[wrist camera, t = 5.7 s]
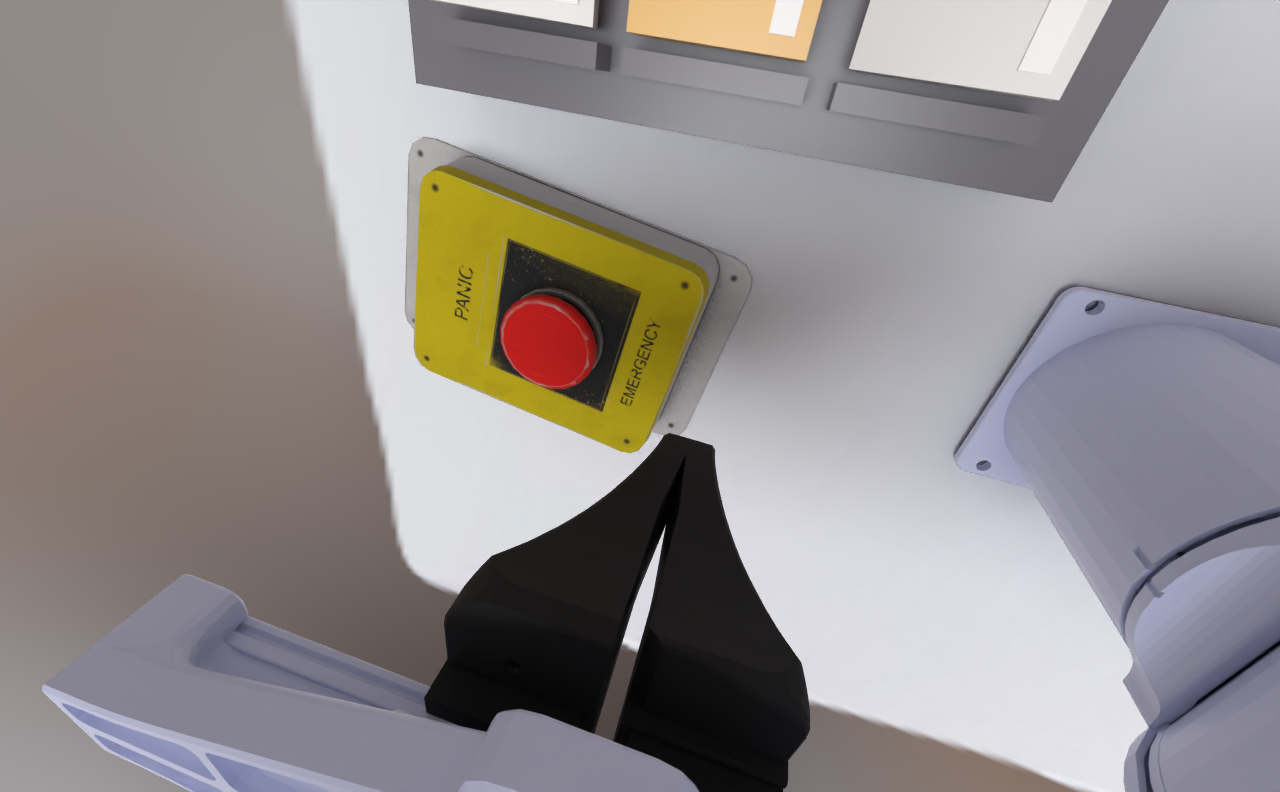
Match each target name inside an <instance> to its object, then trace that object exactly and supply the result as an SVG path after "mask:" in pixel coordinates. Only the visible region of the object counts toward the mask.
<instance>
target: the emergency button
mask: <svg viewBox="0 0 1280 792" xmlns="http://www.w3.org/2000/svg"><path fill="white" fill-rule="evenodd" d="M751 284H752V275H751V273H750V271H749V269H748V267H747V265H745V264H744V263H743V262H741V261H740V260H738V259H737V258H735V257H734V256H731V255H729V254H726V253H724V252H721V251H718V250H716V249H713V248H711V247H708V246H706V245H703V244H701V243H698V242H696V241H693V240H691V239H688V238H686V237H683V236H680V235H678V234H675V233H673V232H670V231H668V230H665V229H663V228H660V227H658V226H655V225H653V224H650V223H648V222H645V221H643V220H640V219H637V218H635V217H632V216H630V215H627V214H625V213H622V212H620V211H617V210H615V209H612V208H610V207H607V206H605V205H602V204H599V203H597V202H594V201H592V200H589V199H587V198H584V197H582V196H579V195H577V194H574V193H572V192H569V191H567V190H564V189H562V188H559V187H556V186H554V185H551V184H549V183H546V182H544V181H541V180H539V179H536V178H534V177H531V176H529V175H526V174H524V173H521V172H518V171H516V170H513V169H511V168H508V167H506V166H503V165H501V164H498V163H496V162H493V161H491V160H488V159H486V158H483V157H481V156H478V155H475V154H473V153H470V152H468V151H465V150H463V149H460V148H458V147H455V146H453V145H450V144H448V143H445V142H443V141H440V140H437V139H432V138H421V139H419V140H417V141H416V142H414V143H412V146H411V149H410V152H409V161H408V203H407V245H406V287H405V314H406V317H407V321H408V322H409V323H410V325H411V326H412V327H413V328H414V351H415V356H416V358H417V359H418V361H419V362H420V364H421V365H422V366H424V367H425V368H426V369H428V370H429V371H432V372H434V373H436V374H439V375H441V376H443V377H446V378H448V379H451V380H453V381H455V382H458V383H460V384H462V385H465V386H467V387H470V388H472V389H474V390H477V391H479V392H481V393H484V394H486V395H488V396H491V397H493V398H496V399H498V400H500V401H503V402H505V403H507V404H510V405H512V406H515V407H517V408H519V409H522V410H524V411H526V412H529V413H531V414H534V415H536V416H538V417H541V418H543V419H545V420H548V421H550V422H553V423H555V424H557V425H560V426H562V427H564V428H567V429H569V430H572V431H574V432H576V433H579V434H581V435H583V436H586V437H588V438H590V439H593V440H595V441H598V442H600V443H602V444H605V445H607V446H609V447H612V448H614V449H617V450H619V451H622V452H627V453H632V452H635V451H638V450H639V449H640V448H641V447H642V446H643V445H644V443H645V442H646V441H647V439H648V438H649V436H650V434H651V431H653V432H655V433H658V434H661V435H665V434H668V433H672V434H675V435H680V434H681V433H682V432H683V431H684V430H685V429H686V428H687V425H688V423H689V421H690V419H691V417H692V415H693V413H694V410H695V408H696V406H697V404H698V402H699V400H700V398H701V395H702V393H703V391H704V389H705V387H706V385H707V383H708V380H709V378H710V376H711V374H712V372H713V370H714V368H715V365H716V363H717V361H718V359H719V357H720V355H721V353H722V351H723V348H724V346H725V344H726V342H727V340H728V338H729V336H730V333H731V331H732V329H733V327H734V325H735V323H736V321H737V318H738V316H739V314H740V312H741V310H742V308H743V306H744V303H745V301H746V299H747V297H748V295H749V293H750V290H751Z"/></svg>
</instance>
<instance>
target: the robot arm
mask: <svg viewBox="0 0 1280 792" xmlns="http://www.w3.org/2000/svg"><path fill="white" fill-rule="evenodd" d="M1095 300H1099V303H1098V306H1096V307H1095V308H1094V309H1092V310H1090V311H1085V308H1086V306H1087V305H1088V304H1089V303H1090V302H1092V301H1095ZM954 458H955V462H956V464H957V466H958V467H959V468H960V469H962V470H964V471H968V472H972V473H975V474H979V475H983V476H987V477H991V478H994V479H998V480H1002V481H1006V482H1010V483H1013V484H1017V485H1021V486H1025V487H1029V488H1031V489H1032V490H1033V492H1034V494H1035V495H1036V497H1037V499H1038V500H1039V502H1040V504H1041V505H1042V507H1043V508H1044V510H1045V512H1046V513H1047V515H1048V517H1049V518H1050V520H1051V522H1052V523H1053V525H1054V527H1055V528H1056V530H1057V531H1058V533H1059V535H1060V536H1061V538H1062V540H1063V541H1064V543H1065V545H1066V546H1067V548H1068V549H1069V551H1070V553H1071V554H1072V556H1073V558H1074V559H1075V561H1076V563H1077V564H1078V566H1079V568H1080V569H1081V571H1082V572H1083V574H1084V576H1085V577H1086V579H1087V581H1088V582H1089V584H1090V586H1091V587H1092V589H1093V591H1094V592H1095V594H1096V595H1097V597H1098V599H1099V600H1100V602H1101V604H1102V605H1103V607H1104V609H1105V610H1106V612H1107V613H1108V615H1109V617H1110V618H1111V620H1112V622H1113V623H1114V625H1115V627H1116V628H1117V630H1118V632H1119V633H1120V635H1121V636H1122V638H1123V640H1124V641H1125V643H1126V644H1127V646H1128V647H1129V649H1130V652H1131V655H1132V658H1133V665H1132V668H1131V671H1130V673H1129V674H1128V675H1127V676H1126V677H1125V678H1124V679H1123V683H1124V684H1125V686H1126V688H1127V690H1128V691H1129V693H1130V695H1131V697H1132V699H1133V700H1134V702H1135V704H1136V706H1137V707H1138V709H1139V711H1140V713H1141V714H1142V716H1143V718H1144V720H1145V722H1146V723H1147V725H1148V727H1149V728H1148V729H1147V730H1145V731H1144V732H1143V733H1141V734H1140V735H1139V736H1138V737H1137V738H1136V739H1135V741H1134V742H1133V743H1132V744H1131V745H1130V748H1129V750H1128V753H1127V756H1126V759H1125V762H1124V786H1125V792H1280V328H1279V327H1274V326H1270V325H1265V324H1260V323H1255V322H1250V321H1245V320H1241V319H1236V318H1231V317H1226V316H1221V315H1217V314H1212V313H1207V312H1202V311H1197V310H1193V309H1188V308H1183V307H1178V306H1173V305H1168V304H1164V303H1159V302H1154V301H1149V300H1144V299H1140V298H1135V297H1130V296H1125V295H1120V294H1116V293H1111V292H1106V291H1101V290H1096V289H1091V288H1087V287H1073V288H1069V289H1067V290H1066V291H1064V292H1062V293H1061V294H1060V296H1059V297H1058V298H1057V299H1056V301H1055V302H1054V304H1053V305H1052V307H1051V309H1050V310H1049V312H1048V313H1047V315H1046V316H1045V318H1044V319H1043V321H1042V322H1041V324H1040V325H1039V327H1038V328H1037V330H1036V332H1035V333H1034V335H1033V336H1032V338H1031V339H1030V341H1029V342H1028V344H1027V345H1026V347H1025V348H1024V350H1023V351H1022V353H1021V355H1020V356H1019V358H1018V359H1017V361H1016V362H1015V364H1014V365H1013V367H1012V368H1011V370H1010V371H1009V373H1008V374H1007V376H1006V378H1005V379H1004V381H1003V382H1002V384H1001V385H1000V387H999V388H998V390H997V391H996V393H995V394H994V396H993V397H992V399H991V401H990V402H989V404H988V405H987V407H986V408H985V410H984V411H983V413H982V414H981V416H980V417H979V419H978V420H977V422H976V424H975V425H974V427H973V428H972V430H971V431H970V433H969V434H968V436H967V437H966V439H965V440H964V442H963V443H962V445H961V447H960V448H959V450H958V451H957V453H956V454H955V457H954ZM980 461H987V462H986V463H985V464H982V465H977V463H978V462H980ZM665 525H666V527H665ZM664 528H665V533H664V538H663V544H662V549H661V554H660V560H659V565H658V571H657V576H656V582H655V587H654V593H653V598H652V602H651V606H650V611H649V614H648V618H647V621H646V625H645V629H644V632H643V636H642V639H641V643H640V646H639V650H638V654H637V657H636V661H635V664H634V668H633V671H632V675H631V679H630V683H629V686H628V689H627V693H626V696H625V700H624V704H623V707H622V710H621V714H620V718H619V721H618V725H617V728H616V732H615V735H614V739H613V741H610V740H608V739H605V738H603V737H600V736H597V735H595V734H594V733H595V730H596V727H597V724H598V720H599V717H600V713H601V710H602V707H603V704H604V700H605V697H606V694H607V691H608V687H609V684H610V680H611V677H612V674H613V671H614V667H615V664H616V661H617V658H618V654H619V651H620V648H621V645H622V641H623V638H624V635H625V631H626V628H627V625H628V622H629V618H630V615H631V612H632V609H633V605H634V602H635V600H636V597H637V594H638V591H639V589H640V586H641V584H642V581H643V579H644V577H645V574H646V572H647V569H648V567H649V564H650V562H651V560H652V557H653V555H654V552H655V550H656V547H657V545H658V543H659V540H660V538H661V535H662V533H663V530H664ZM444 629H445V638H446V648H447V657H448V659H447V661H446V662H445V664H444V666H443V667H442V669H441V671H440V672H439V674H438V676H437V677H436V679H435V680H434V682H433V684H432V685H431V687H429V686H426V685H424V684H421V683H418V682H416V681H413V680H411V679H408V678H406V677H403V676H401V675H398V674H395V673H393V672H390V671H388V670H385V669H383V668H380V667H377V666H375V665H372V664H370V663H367V662H365V661H362V660H360V659H357V658H354V657H352V656H349V655H347V654H344V653H341V652H339V651H336V650H334V649H331V648H329V647H326V646H324V645H321V644H319V643H316V642H313V641H311V640H308V639H306V638H303V637H300V636H298V635H295V634H293V633H290V632H288V631H285V630H283V629H280V628H277V627H275V626H272V625H269V624H267V623H264V622H262V621H259V620H257V619H254V618H252V617H249V616H248V612H247V609H246V606H245V604H244V602H243V601H242V599H241V598H240V597H239V596H238V595H236V594H235V593H234V592H232V591H230V590H228V589H226V588H224V587H222V586H219V585H216V584H214V583H211V582H208V581H206V580H203V579H201V578H198V577H195V576H193V575H190V574H184V575H182V576H180V577H179V578H178V579H177V580H175V581H174V582H173V583H172V584H170V585H169V586H168V587H167V588H165V589H164V590H163V591H161V592H160V593H159V594H158V595H157V596H155V597H154V598H153V599H151V600H150V601H149V602H148V603H146V604H145V605H144V606H142V607H141V608H140V609H139V610H137V611H136V612H135V613H134V614H132V615H131V616H130V617H129V618H127V619H126V620H125V621H124V622H122V623H121V624H120V625H118V627H116V628H115V629H113V630H112V631H111V632H109V633H108V634H107V635H106V636H104V637H103V638H102V639H101V640H99V641H98V642H97V643H96V644H94V645H93V646H92V647H90V648H89V649H88V650H87V651H85V652H84V653H83V654H82V655H80V656H79V657H78V658H77V659H75V660H74V661H73V662H71V663H70V664H69V665H68V666H66V667H65V668H64V669H63V670H61V671H60V672H59V673H58V674H56V675H55V676H54V677H52V678H51V679H50V680H49V681H47V682H46V683H45V684H44V685H43V688H42V691H43V693H45V694H46V695H47V696H48V697H49V698H50V699H51V700H52V701H53V702H54V703H55V704H56V705H57V706H58V707H59V708H60V709H62V710H63V711H64V712H65V713H66V714H67V715H68V716H69V717H70V718H71V719H72V720H73V721H74V722H75V723H76V724H77V725H78V726H79V727H80V728H82V729H83V730H84V731H85V732H86V733H87V734H88V735H89V736H90V737H91V738H92V739H93V740H94V741H95V742H96V743H97V744H98V745H100V746H101V747H102V748H103V749H104V750H105V751H107V752H110V753H112V754H114V755H116V756H119V757H121V758H123V759H125V760H127V761H129V762H131V763H133V764H136V765H138V766H140V767H142V768H144V769H146V770H148V771H150V772H153V773H154V774H157V775H158V776H160V777H162V778H165V779H167V780H169V781H171V782H173V783H175V784H177V785H179V786H181V787H183V788H185V789H186V790H189V791H191V792H783V788H785V787H786V786H787V783H788V760H789V759H790V758H791V756H792V755H793V754H794V752H795V751H796V750H797V749H798V748H799V746H800V745H801V744H802V743H803V741H804V740H805V739H806V737H807V735H808V733H809V731H810V708H809V700H808V694H807V688H806V682H805V677H804V672H803V668H802V664H801V662H800V660H799V659H798V657H797V656H796V655H795V653H794V652H793V650H792V649H791V647H790V646H789V645H788V643H787V642H786V640H785V639H784V638H783V636H782V635H781V633H780V632H779V630H778V628H777V627H776V625H775V624H774V622H773V620H772V619H771V617H770V615H769V614H768V612H767V610H766V609H765V607H764V605H763V603H762V601H761V599H760V597H759V595H758V594H757V592H756V590H755V588H754V586H753V584H752V582H751V580H750V578H749V576H748V574H747V572H746V570H745V567H744V565H743V563H742V561H741V558H740V556H739V553H738V551H737V548H736V546H735V543H734V541H733V538H732V535H731V532H730V529H729V526H728V522H727V519H726V516H725V512H724V508H723V505H722V500H721V496H720V491H719V487H718V481H717V475H716V467H715V449H714V448H713V446H712V445H709V444H706V443H702V442H699V441H695V440H692V439H689V438H685V437H682V436H679V435H675V434H672V433H668V434H665V435H664V437H663V438H662V440H661V441H660V443H659V444H658V445H657V447H656V448H655V449H654V450H653V452H652V453H651V454H650V455H649V456H648V457H647V458H646V459H645V460H644V461H643V462H642V463H641V464H640V466H639V467H638V468H637V469H636V470H635V471H634V472H633V473H632V474H630V475H629V476H628V477H627V478H626V479H625V480H624V481H623V482H621V483H620V484H619V485H618V486H617V487H616V488H615V489H613V490H612V491H611V492H610V493H608V494H607V495H606V496H605V497H603V498H602V499H601V500H599V501H598V502H596V503H595V504H594V505H592V506H591V507H589V508H588V509H586V510H585V511H583V512H582V513H580V514H578V515H577V516H575V517H574V518H572V519H570V520H569V521H567V522H565V523H564V524H562V525H560V526H558V527H556V528H554V529H552V530H550V531H548V532H546V533H544V534H542V535H540V536H538V537H536V538H534V539H532V540H530V541H528V542H526V543H523V544H521V545H518V546H516V547H513V548H511V549H508V550H506V551H503V552H501V553H498V554H495V555H493V556H491V557H490V558H489V559H488V560H487V561H486V562H485V563H484V564H483V565H482V566H481V567H480V568H479V570H478V571H477V572H476V573H475V574H474V575H473V576H472V578H471V579H470V580H469V581H468V582H467V584H466V585H465V586H464V588H463V589H462V590H461V592H460V594H459V595H458V597H457V598H456V600H455V601H454V603H453V605H452V606H451V608H450V609H449V610H448V612H447V614H446V615H445V621H444Z"/></svg>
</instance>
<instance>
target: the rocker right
mask: <svg viewBox="0 0 1280 792" xmlns="http://www.w3.org/2000/svg"><path fill="white" fill-rule="evenodd" d="M1111 1H1112V0H870V3H869V6H868V9H867V12H866V16H865V19H864V22H863V25H862V28H861V32H860V35H859V38H858V41H857V44H856V47H855V51H854V54H853V57H852V60H851V63H850V66H849V69H850V70H852V71H853V72H859V73H866V74H872V75H879V76H885V77H892V78H899V79H905V80H912V81H918V82H925V83H932V84H938V85H945V86H951V87H958V88H965V89H971V90H978V91H985V92H991V93H998V94H1004V95H1011V96H1018V97H1024V98H1031V99H1037V100H1044V101H1057V100H1060V98H1061V96H1062V94H1063V92H1064V90H1065V88H1066V87H1067V85H1068V83H1069V81H1070V79H1071V77H1072V75H1073V73H1074V71H1075V70H1076V68H1077V66H1078V64H1079V62H1080V60H1081V58H1082V56H1083V54H1084V52H1085V51H1086V49H1087V47H1088V45H1089V43H1090V41H1091V39H1092V37H1093V35H1094V34H1095V32H1096V30H1097V28H1098V26H1099V24H1100V22H1101V20H1102V18H1103V17H1104V15H1105V13H1106V11H1107V9H1108V7H1109V5H1110V3H1111Z"/></svg>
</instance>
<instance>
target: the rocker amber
mask: <svg viewBox="0 0 1280 792" xmlns="http://www.w3.org/2000/svg"><path fill="white" fill-rule="evenodd" d="M821 4H822V0H629V9H628V19H627V28H626V32H629V33H631V34H634V35H637V36H643V37H649V38H655V39H661V40H667V41H674V42H680V43H686V44H692V45H698V46H704V47H710V48H716V49H722V50H729V51H735V52H741V53H747V54H753V55H759V56H765V57H771V58H777V59H784V60H790V61H796V62H802V63H804V62H805V61H806V59H807V55H808V52H809V48H810V44H811V41H812V37H813V33H814V30H815V26H816V22H817V19H818V15H819V11H820V8H821Z"/></svg>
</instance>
